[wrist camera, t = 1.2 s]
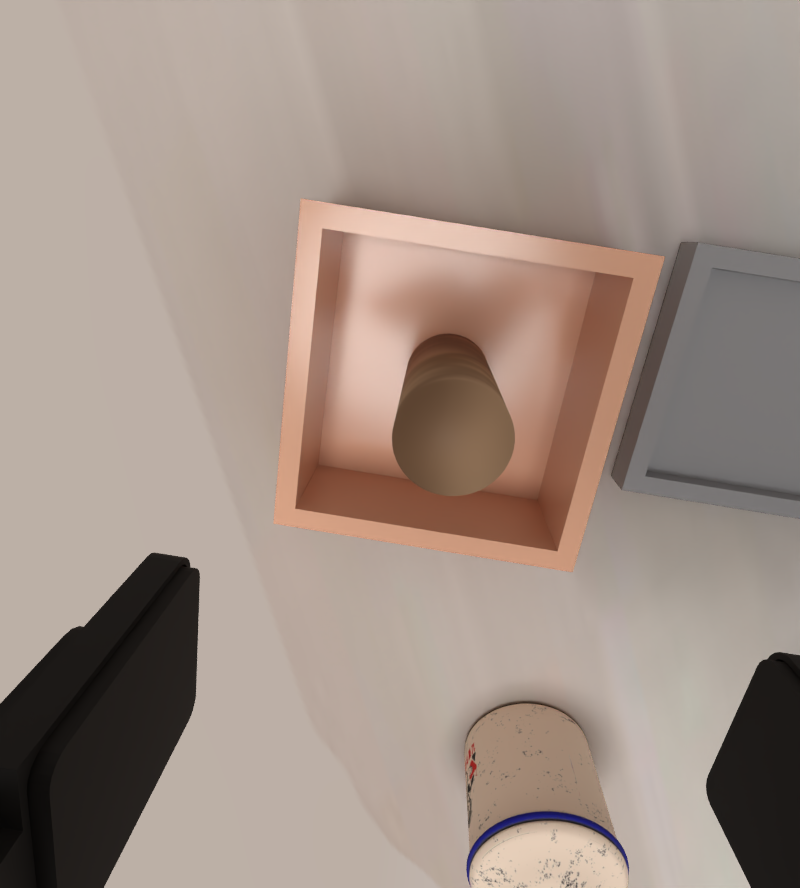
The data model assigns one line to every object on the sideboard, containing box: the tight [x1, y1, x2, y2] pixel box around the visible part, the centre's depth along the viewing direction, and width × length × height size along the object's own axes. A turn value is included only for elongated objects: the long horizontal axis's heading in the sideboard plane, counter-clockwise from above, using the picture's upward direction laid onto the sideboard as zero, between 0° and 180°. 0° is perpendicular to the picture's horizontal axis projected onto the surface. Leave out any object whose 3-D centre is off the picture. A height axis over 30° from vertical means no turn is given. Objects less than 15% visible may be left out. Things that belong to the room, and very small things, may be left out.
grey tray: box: [611, 242, 800, 519], centre depth 30 cm, size 13×13×2 cm
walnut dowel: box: [392, 334, 515, 496], centre depth 26 cm, size 4×4×11 cm
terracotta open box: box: [274, 199, 665, 572], centre depth 29 cm, size 15×15×6 cm
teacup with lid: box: [464, 704, 629, 888], centre depth 35 cm, size 12×9×12 cm
